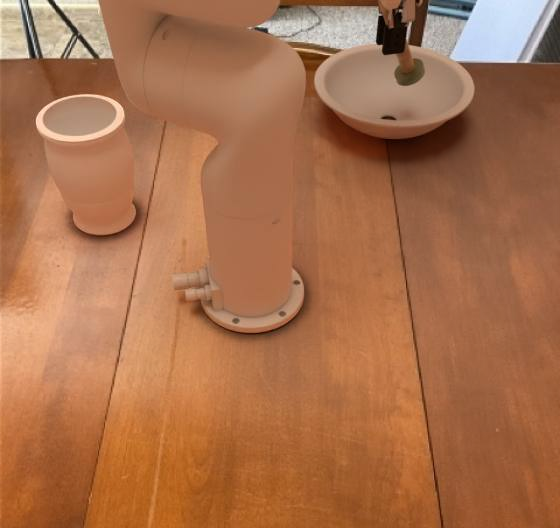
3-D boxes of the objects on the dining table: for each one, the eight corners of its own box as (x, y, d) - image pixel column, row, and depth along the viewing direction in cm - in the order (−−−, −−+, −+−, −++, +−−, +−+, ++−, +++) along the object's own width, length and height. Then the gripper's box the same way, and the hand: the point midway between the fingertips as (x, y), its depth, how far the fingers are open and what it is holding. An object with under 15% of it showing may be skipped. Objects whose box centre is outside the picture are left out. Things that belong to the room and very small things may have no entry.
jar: (159, 210, 93) (142, 109, 82) (107, 252, 88) (80, 150, 76) (102, 184, 97) (78, 84, 85) (49, 222, 92) (15, 121, 80)
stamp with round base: (397, 90, 101) (367, 5, 90) (394, 71, 103) (365, -14, 92) (427, 79, 99) (400, -9, 88) (423, 60, 102) (396, -28, 91)
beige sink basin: (281, 114, 108) (281, 74, 103) (389, 67, 118) (394, 28, 113) (387, 186, 97) (393, 145, 92) (497, 127, 106) (508, 87, 101)
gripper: (358, -121, 87) (349, 25, 101) (398, -73, 77) (381, 80, 92) (414, -127, 88) (397, 19, 102) (460, -79, 78) (434, 73, 93)
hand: (389, 47), depth 97 cm, fingers closed on stamp with round base, 2 cm apart
